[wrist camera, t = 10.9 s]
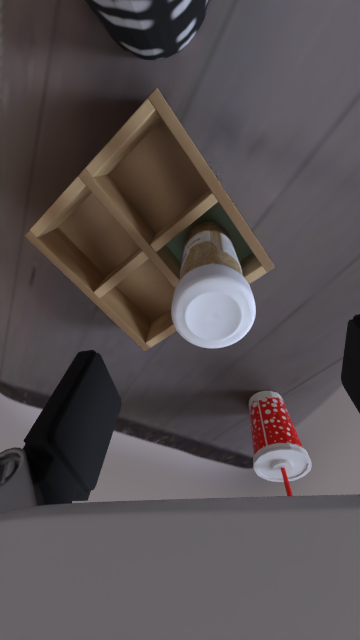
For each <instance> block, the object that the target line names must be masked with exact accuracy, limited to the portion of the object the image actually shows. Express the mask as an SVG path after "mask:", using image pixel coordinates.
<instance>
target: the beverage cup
mask: <svg viewBox="0 0 360 640" xmlns="http://www.w3.org/2000/svg"><path fill="white" fill-rule="evenodd" d="M249 413H250V421H251V430H252V439H253V448H254V457H253V464H254V466H253V467H254V470H255V472H256V473H257V475H258V476H260V477H262V478H263V479H266V480H269V481H273V482H284V484H285V488H286V491H287V496H292V492H291V488H290V485H289V481H292V480H296V479H298V478H301V477H303V476H305V475H306V474H307V473H308V472H309V471H310V469H311V466H312V463H311V460H310V458H309V455H308V453H307V451H306V450H305V449H303V447H302V444H301V442H300V440H299V437H298V435H297V433H296V430H295V428H294V425H293V423H292V421H291V418H290V416H289V414H288V411H287V409H286V407H285V404H284V402H283V400H282V397H281V396H280V395H279V394H278V393H276V392H273V391H261V392H258V393H256V394H254V395H253V396H252V397H251V398H250V400H249Z"/></svg>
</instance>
